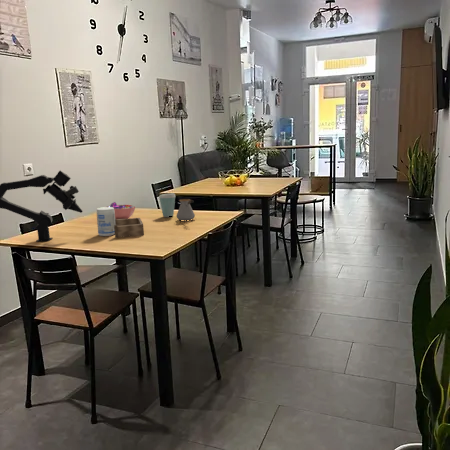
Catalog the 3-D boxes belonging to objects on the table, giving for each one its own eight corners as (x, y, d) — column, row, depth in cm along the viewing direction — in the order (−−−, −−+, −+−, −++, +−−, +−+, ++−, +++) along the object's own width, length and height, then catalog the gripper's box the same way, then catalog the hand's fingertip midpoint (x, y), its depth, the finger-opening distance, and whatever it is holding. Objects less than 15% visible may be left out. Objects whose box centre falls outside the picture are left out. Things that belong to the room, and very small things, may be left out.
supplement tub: (98, 237, 242) (96, 210, 239) (98, 233, 250) (95, 207, 247) (117, 235, 244) (114, 208, 241) (115, 231, 253) (113, 206, 250)
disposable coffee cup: (157, 217, 290) (155, 194, 286) (164, 214, 300) (163, 192, 297) (172, 218, 287) (171, 195, 283) (179, 215, 297) (177, 192, 293)
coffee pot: (174, 219, 283) (173, 195, 280) (192, 217, 287) (190, 194, 283) (183, 225, 263) (182, 200, 260) (202, 223, 267) (201, 198, 264)
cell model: (130, 222, 279) (128, 204, 276) (100, 222, 282) (98, 204, 280) (140, 217, 295) (138, 199, 293) (111, 217, 299) (110, 200, 296)
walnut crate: (115, 237, 239) (114, 225, 237) (113, 229, 258) (112, 218, 257) (144, 235, 243) (143, 222, 241) (140, 227, 262) (139, 216, 261)
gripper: (67, 183, 228) (91, 203, 233) (69, 179, 245) (92, 198, 251) (52, 200, 227) (77, 219, 233) (55, 195, 245) (78, 213, 250)
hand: (82, 212), depth 242 cm, fingers closed
